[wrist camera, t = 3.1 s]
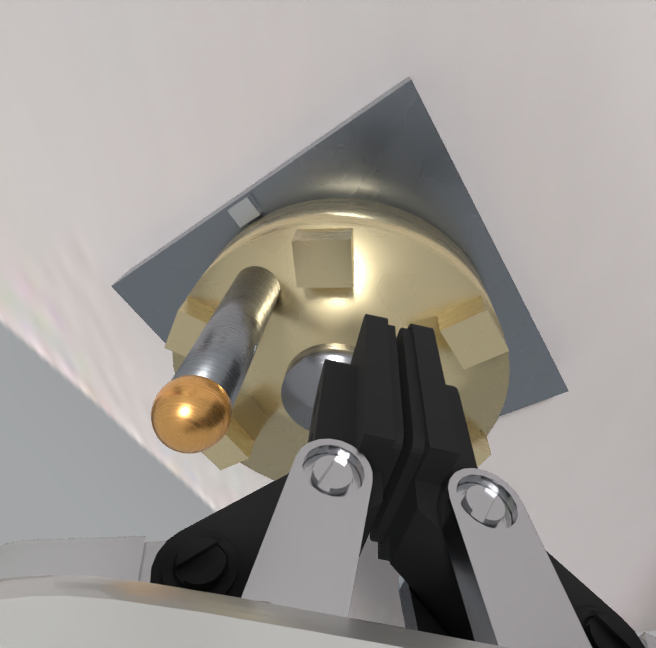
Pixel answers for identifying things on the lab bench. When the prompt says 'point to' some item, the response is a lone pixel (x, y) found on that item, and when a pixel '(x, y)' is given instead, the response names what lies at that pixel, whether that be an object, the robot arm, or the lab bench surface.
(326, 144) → the base plate
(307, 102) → the lab bench surface
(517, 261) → the lab bench surface
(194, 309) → the brass dial with handle
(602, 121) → the lab bench surface
